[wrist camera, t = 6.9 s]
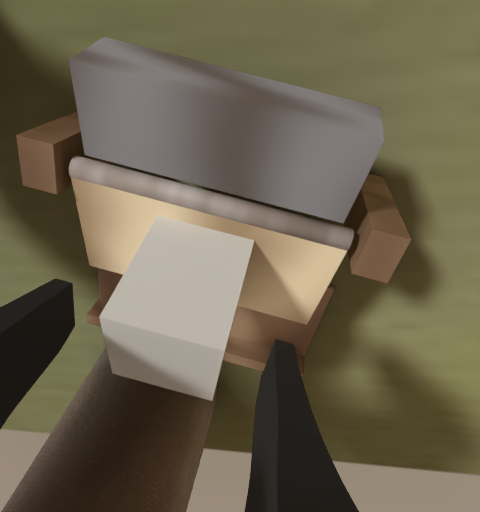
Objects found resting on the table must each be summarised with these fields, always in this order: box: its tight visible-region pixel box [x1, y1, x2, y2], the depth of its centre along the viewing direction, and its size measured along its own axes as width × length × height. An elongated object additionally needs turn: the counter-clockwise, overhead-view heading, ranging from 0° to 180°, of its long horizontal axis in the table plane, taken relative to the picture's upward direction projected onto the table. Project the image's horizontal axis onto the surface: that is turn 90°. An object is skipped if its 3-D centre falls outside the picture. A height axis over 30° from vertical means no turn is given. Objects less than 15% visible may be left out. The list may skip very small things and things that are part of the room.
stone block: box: [99, 215, 254, 401], centre depth 14 cm, size 4×4×5 cm
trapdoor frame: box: [16, 112, 411, 377], centre depth 20 cm, size 15×14×6 cm
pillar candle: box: [2, 348, 218, 512], centre depth 23 cm, size 10×10×15 cm
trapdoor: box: [69, 37, 384, 325], centre depth 15 cm, size 11×10×3 cm
